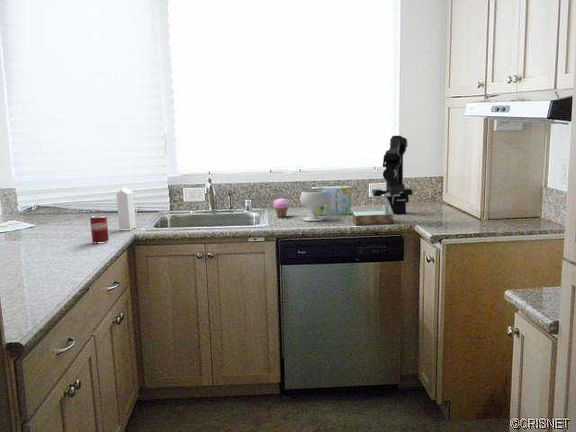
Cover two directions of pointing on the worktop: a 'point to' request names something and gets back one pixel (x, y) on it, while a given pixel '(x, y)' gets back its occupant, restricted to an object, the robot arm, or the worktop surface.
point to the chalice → (313, 202)
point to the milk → (126, 208)
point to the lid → (373, 212)
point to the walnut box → (373, 219)
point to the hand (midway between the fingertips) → (392, 209)
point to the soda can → (99, 228)
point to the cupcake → (281, 207)
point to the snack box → (335, 200)
